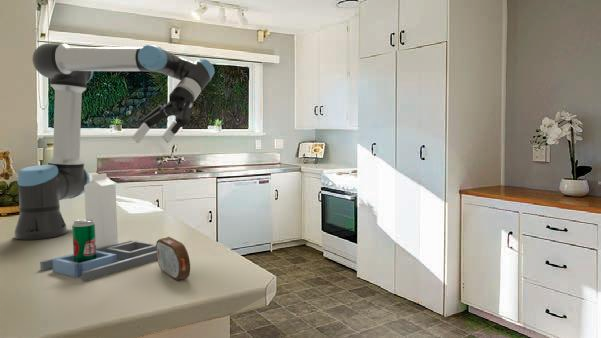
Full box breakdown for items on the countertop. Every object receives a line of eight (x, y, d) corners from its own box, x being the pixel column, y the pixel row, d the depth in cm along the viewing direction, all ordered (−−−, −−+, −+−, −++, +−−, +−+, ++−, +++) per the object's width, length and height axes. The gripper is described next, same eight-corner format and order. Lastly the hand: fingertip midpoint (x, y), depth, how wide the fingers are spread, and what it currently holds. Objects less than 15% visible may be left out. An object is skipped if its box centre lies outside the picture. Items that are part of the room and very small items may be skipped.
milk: (87, 250, 126) (82, 174, 125) (101, 245, 132) (97, 173, 131) (105, 251, 125) (101, 174, 123) (118, 246, 131) (115, 173, 129)
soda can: (88, 272, 105) (85, 223, 104) (69, 271, 106) (67, 222, 105) (101, 266, 110) (99, 219, 109) (83, 265, 111) (81, 218, 110)
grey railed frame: (40, 269, 108) (39, 257, 107) (130, 246, 130) (129, 236, 130) (85, 281, 98) (84, 268, 98) (173, 254, 120) (173, 243, 120)
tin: (192, 282, 97) (190, 244, 96) (178, 285, 95) (177, 247, 94) (167, 266, 109) (166, 233, 108) (154, 269, 107) (153, 235, 106)
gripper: (218, 101, 141) (185, 148, 129) (165, 104, 154) (131, 148, 142) (206, 82, 136) (171, 130, 125) (152, 88, 149) (116, 132, 137)
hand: (149, 140), depth 133 cm, fingers open, 13 cm apart
